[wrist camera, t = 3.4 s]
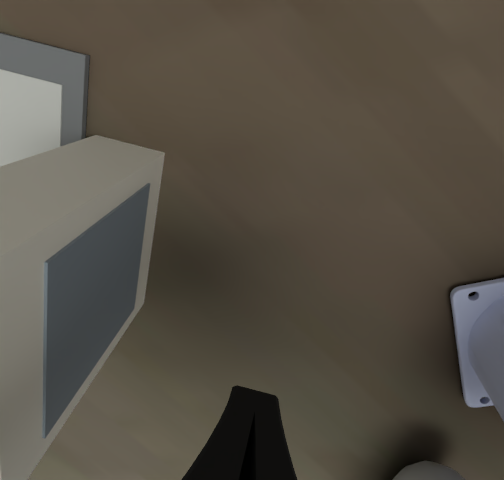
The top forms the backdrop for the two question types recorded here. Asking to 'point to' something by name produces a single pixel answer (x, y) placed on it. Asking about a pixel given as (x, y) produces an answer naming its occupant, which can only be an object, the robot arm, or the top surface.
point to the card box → (67, 280)
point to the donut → (427, 472)
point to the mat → (40, 97)
